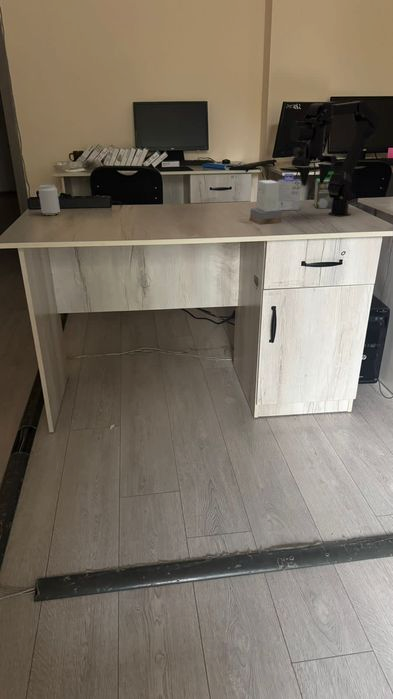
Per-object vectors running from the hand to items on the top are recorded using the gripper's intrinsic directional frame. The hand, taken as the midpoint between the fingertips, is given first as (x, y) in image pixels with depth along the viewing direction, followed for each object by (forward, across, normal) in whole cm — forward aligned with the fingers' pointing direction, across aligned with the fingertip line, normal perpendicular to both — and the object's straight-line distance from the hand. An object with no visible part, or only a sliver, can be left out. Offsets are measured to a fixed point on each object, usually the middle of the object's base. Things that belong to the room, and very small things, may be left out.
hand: (312, 184), depth 195 cm
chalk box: (+13, -24, -14) cm, 31 cm away
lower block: (+14, +17, -7) cm, 23 cm away
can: (+13, +79, -74) cm, 109 cm away
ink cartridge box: (+13, -7, -20) cm, 25 cm away
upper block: (+11, +17, -7) cm, 22 cm away
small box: (+9, +17, -7) cm, 20 cm away
